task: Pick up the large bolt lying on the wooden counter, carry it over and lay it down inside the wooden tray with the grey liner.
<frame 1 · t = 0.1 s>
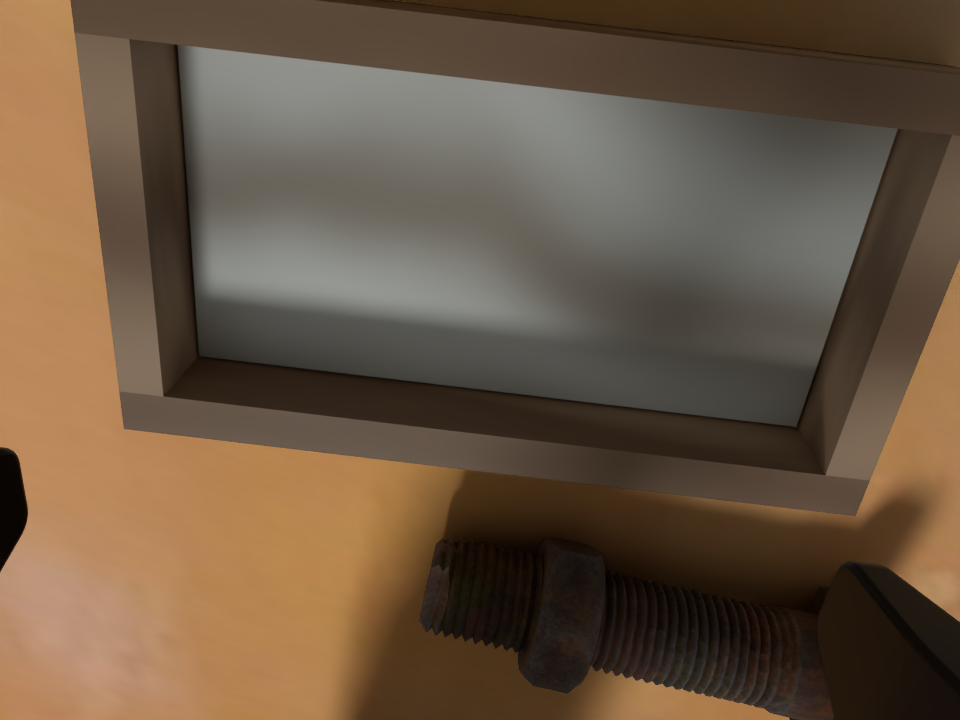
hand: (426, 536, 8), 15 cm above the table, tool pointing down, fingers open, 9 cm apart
bolt: (640, 575, 28), on the table
wooden tray: (516, 236, 22), on the table
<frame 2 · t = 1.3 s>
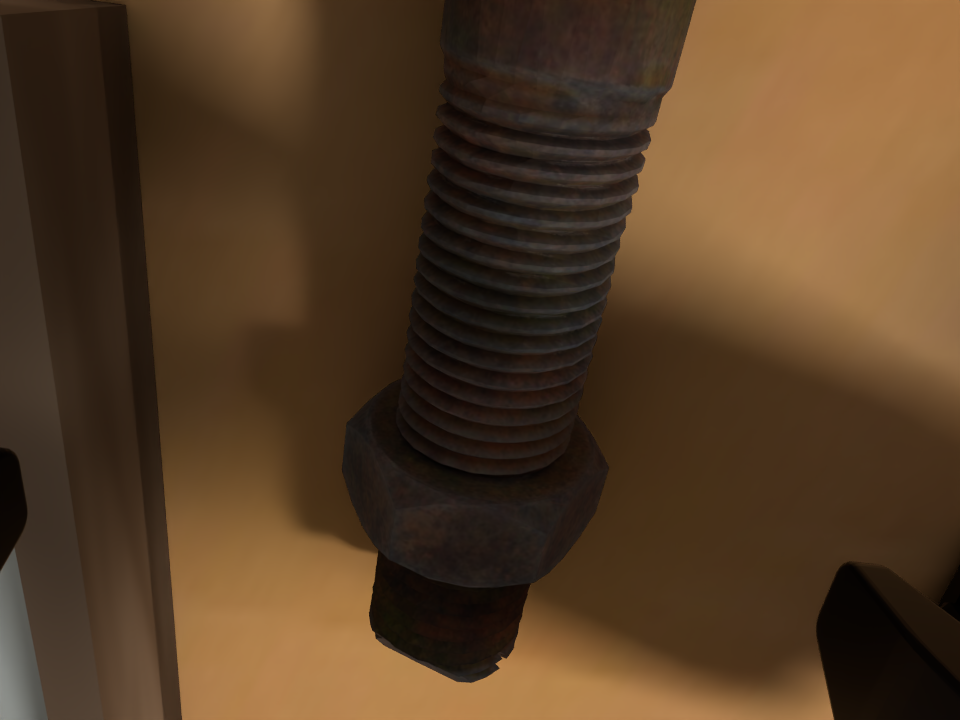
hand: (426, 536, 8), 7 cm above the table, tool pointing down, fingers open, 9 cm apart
bolt: (499, 275, 15), on the table
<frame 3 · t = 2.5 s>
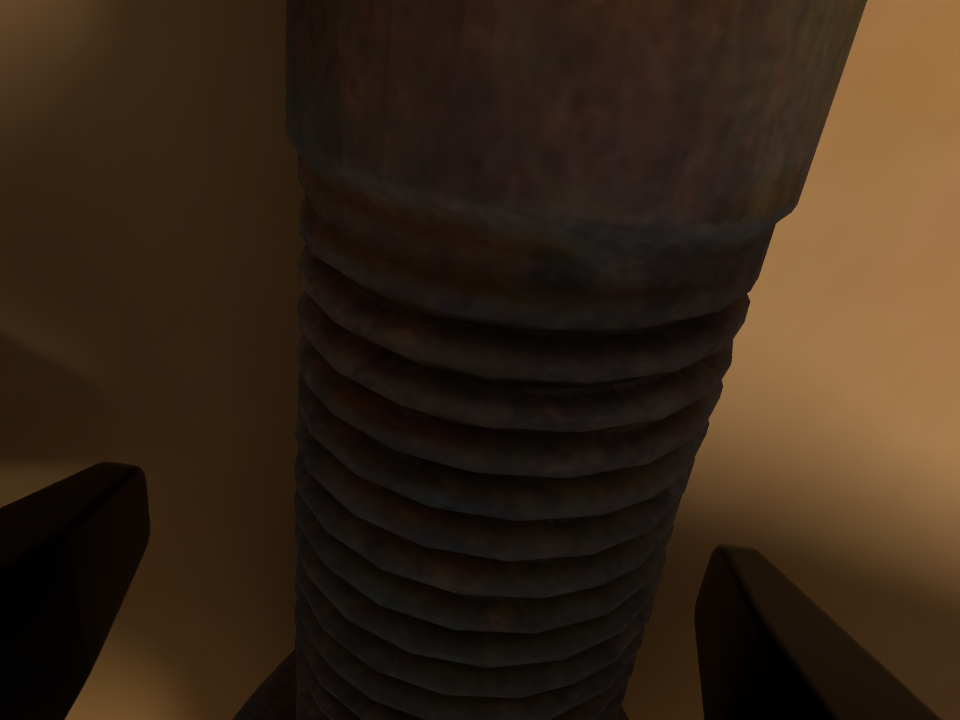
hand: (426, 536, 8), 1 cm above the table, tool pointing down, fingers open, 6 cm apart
bolt: (472, 455, 10), on the table
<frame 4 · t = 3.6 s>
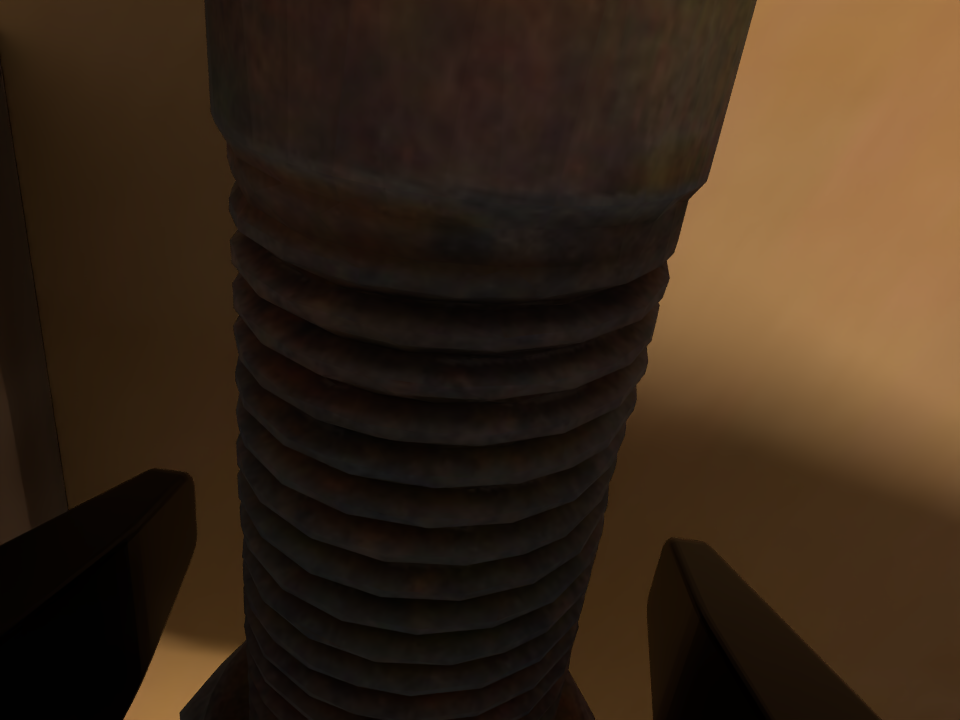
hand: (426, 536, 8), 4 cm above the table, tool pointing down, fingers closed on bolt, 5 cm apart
bolt: (433, 439, 10), point 2 cm above the table, touching gripper
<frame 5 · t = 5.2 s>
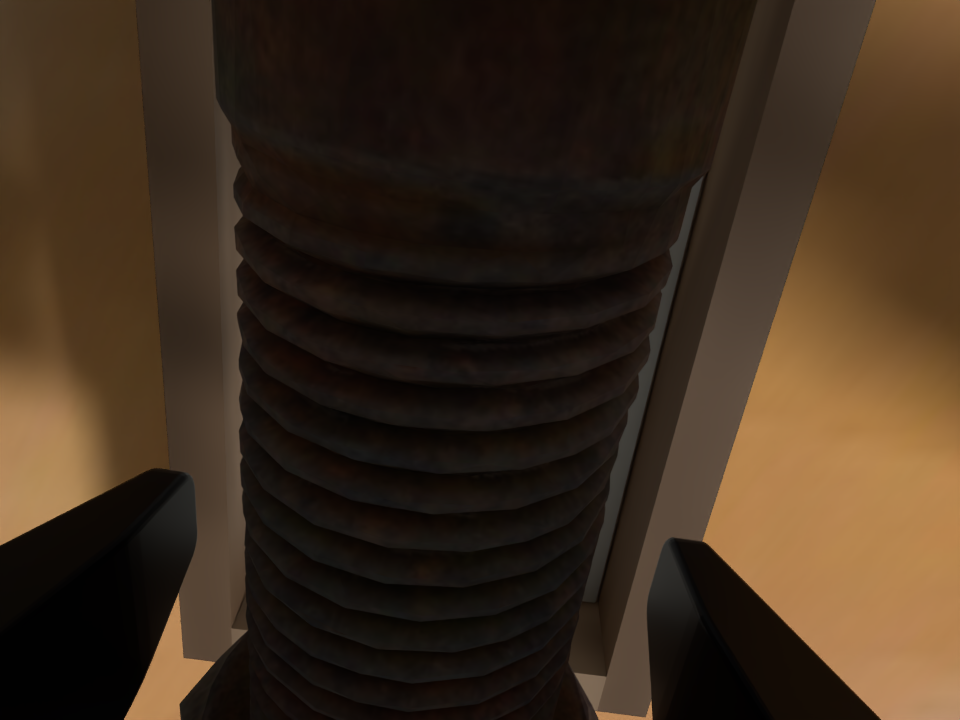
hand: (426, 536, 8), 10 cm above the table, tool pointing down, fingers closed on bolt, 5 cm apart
bolt: (433, 432, 10), point 8 cm above the table, touching gripper
wooden tray: (472, 246, 17), on the table
when the fingers open (4 cm above the table, at t = 7.0 s): bolt drops 1 cm, resting on wooden tray.
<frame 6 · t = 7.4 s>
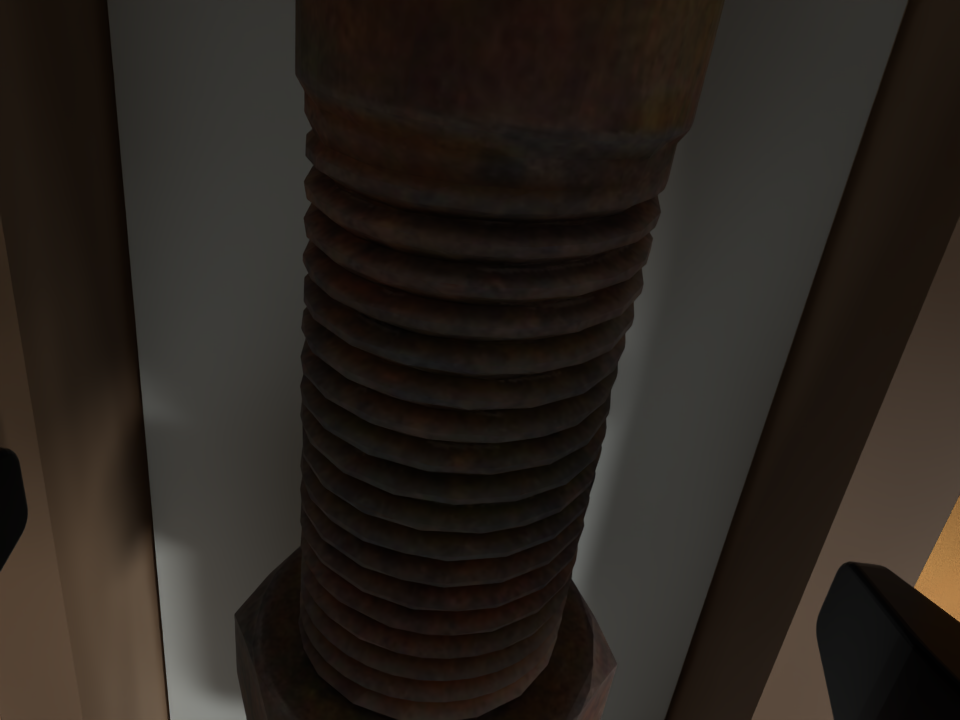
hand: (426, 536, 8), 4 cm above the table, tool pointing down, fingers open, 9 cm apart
bolt: (453, 380, 11), point 1 cm above the table, touching wooden tray
wooden tray: (455, 369, 12), on the table
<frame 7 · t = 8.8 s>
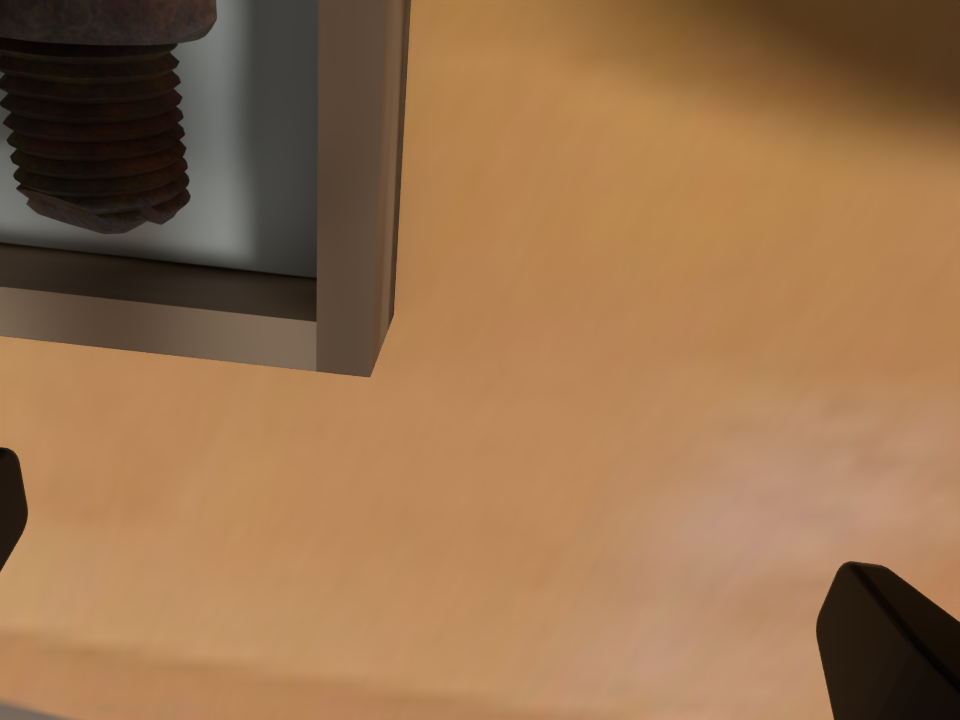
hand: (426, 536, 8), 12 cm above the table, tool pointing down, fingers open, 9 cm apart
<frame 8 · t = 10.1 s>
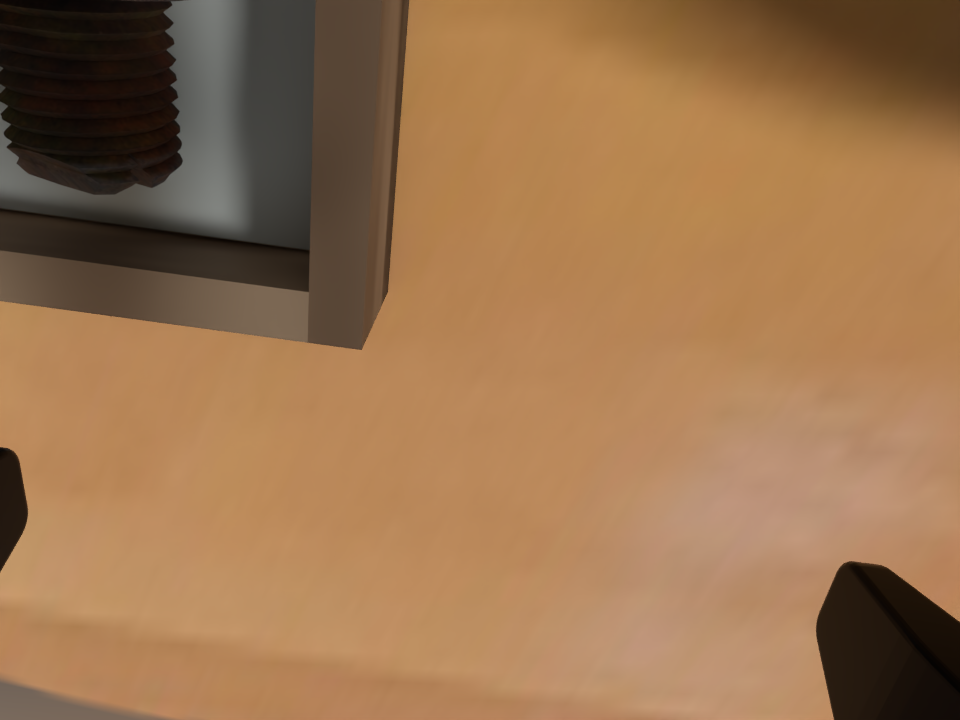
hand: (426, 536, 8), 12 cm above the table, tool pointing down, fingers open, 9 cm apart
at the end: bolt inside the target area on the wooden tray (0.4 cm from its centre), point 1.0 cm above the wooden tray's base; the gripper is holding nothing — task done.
